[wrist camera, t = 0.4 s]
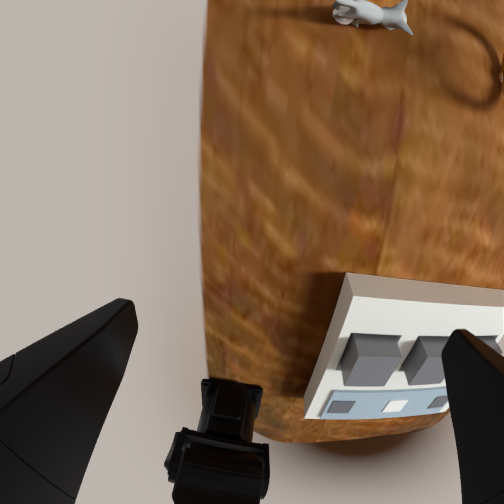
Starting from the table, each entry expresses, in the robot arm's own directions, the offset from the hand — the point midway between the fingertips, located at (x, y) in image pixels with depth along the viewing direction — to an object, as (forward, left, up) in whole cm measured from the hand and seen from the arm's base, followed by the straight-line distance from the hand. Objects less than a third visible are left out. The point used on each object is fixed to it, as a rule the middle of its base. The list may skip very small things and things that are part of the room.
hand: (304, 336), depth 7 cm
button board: (-14, -14, -13) cm, 24 cm away
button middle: (-11, -14, -11) cm, 21 cm away
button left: (-11, -8, -11) cm, 18 cm away
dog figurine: (+12, -3, -14) cm, 19 cm away
